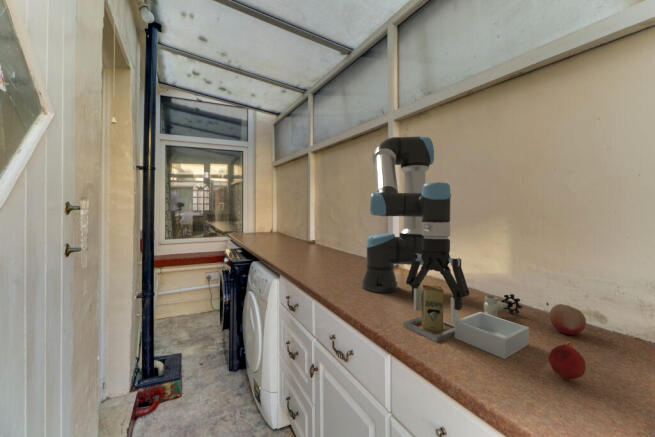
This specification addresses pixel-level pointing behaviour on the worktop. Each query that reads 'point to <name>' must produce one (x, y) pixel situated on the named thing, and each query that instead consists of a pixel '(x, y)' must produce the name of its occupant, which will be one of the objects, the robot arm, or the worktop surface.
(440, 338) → the collar
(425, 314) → the shoe polish box
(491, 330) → the tray
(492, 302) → the valve
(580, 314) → the fruit
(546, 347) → the worktop surface
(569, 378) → the onion
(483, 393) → the worktop surface
